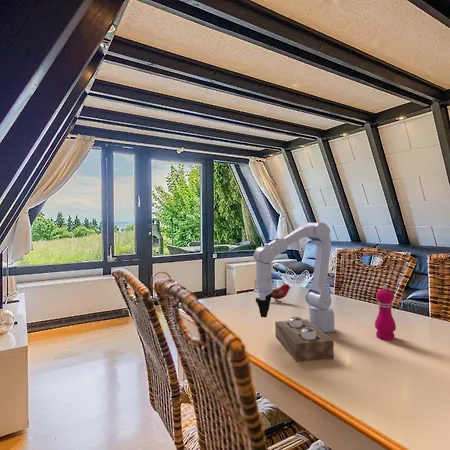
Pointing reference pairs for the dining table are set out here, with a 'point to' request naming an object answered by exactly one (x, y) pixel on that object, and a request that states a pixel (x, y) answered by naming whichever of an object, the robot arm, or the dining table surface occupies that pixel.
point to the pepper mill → (385, 315)
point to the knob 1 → (295, 322)
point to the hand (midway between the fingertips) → (264, 313)
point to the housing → (304, 342)
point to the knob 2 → (308, 334)
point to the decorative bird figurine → (280, 292)
